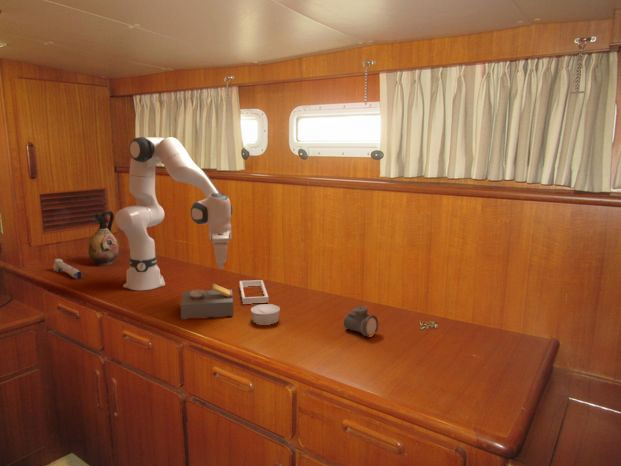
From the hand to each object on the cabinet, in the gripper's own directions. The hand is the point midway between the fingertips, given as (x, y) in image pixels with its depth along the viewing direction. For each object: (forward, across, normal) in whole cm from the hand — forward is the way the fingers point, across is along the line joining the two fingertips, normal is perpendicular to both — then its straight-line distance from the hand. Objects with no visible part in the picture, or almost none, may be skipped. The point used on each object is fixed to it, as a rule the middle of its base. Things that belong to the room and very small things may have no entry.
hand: (221, 267), depth 179 cm
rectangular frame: (+18, -17, +14) cm, 29 cm away
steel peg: (+18, 0, -10) cm, 20 cm away
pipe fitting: (+19, +31, +49) cm, 61 cm away
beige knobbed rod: (+18, -64, -77) cm, 102 cm away
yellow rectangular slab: (+10, 0, 0) cm, 10 cm away
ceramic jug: (+18, -83, -63) cm, 106 cm away
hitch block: (+18, 0, -6) cm, 19 cm away
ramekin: (+18, +15, +16) cm, 29 cm away
